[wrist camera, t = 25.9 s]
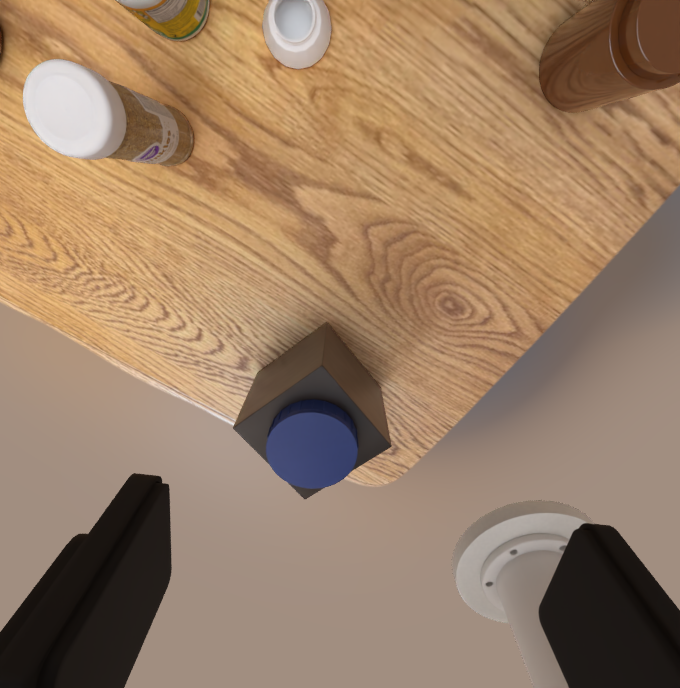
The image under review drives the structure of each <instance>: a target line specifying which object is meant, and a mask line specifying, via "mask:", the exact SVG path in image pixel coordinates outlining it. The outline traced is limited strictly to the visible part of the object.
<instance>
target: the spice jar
mask: <svg viewBox="0 0 680 688" xmlns="http://www.w3.org/2000/svg"><path fill="white" fill-rule="evenodd" d="M23 104H24V109H25V113H26V116H27V119H28V121H29V123H30V125H31V127H32V128H33V130H34V132H35V133H36V134H37V136H38V137H39V138H40V139H41V140H42V141H43V142H44V143H45V144H46V145H47V146H49V147H50V148H52V149H53V150H55V151H57V152H58V153H61V154H63V155H66V156H69V157H74V158H80V159H91V160H96V159H102V158H113V159H122V160H128V161H132V162H140V163H149V164H156V163H158V164H160V165H163V166H175V165H178V164H181V163H183V162H184V161H185V160H187V159H188V157H189V155H190V154H191V152H192V148H193V142H194V139H193V132H192V129H191V126H190V124H189V122H188V120H187V119H186V117H185V116H184V115H183V114H182V113H180V112H179V111H178V110H177V109H175V108H173V107H171V106H168V105H163V104H161V103H160V102H158V101H156V100H153V99H151V98H149V97H147V96H144V95H142V94H140V93H137V92H135V91H133V90H130V89H128V88H126V87H124V86H121V85H119V84H115V83H112V82H110V81H108V80H106V79H105V78H104V77H103V76H102V75H100V74H99V73H97V72H95V71H93V70H91V69H89V68H87V67H84V66H82V65H80V64H77V63H74V62H71V61H68V60H62V59H52V60H47V61H45V62H42V63H40V64H39V65H37V66H36V67H35V68H34V69H33V70H32V71H31V72H30V74H29V75H28V77H27V79H26V82H25V84H24V89H23Z"/></svg>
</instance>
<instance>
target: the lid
mask: <svg viewBox="0 0 680 688" xmlns="http://www.w3.org/2000/svg"><path fill="white" fill-rule="evenodd" d="M267 438H268V439H267V443H266V455H267V459H268V462H269V464H270V466H271V467H272V469H273V470H274V472H275V473H276V474H277V475H278V476H279V477H281V478H282V479H283V480H285V481H287V482H288V483H290V484H292V485H295V486H298V487H302V488H310V489H316V488H324V487H328V486H331V485H334V484H336V483H337V482H339V481H341V480H342V479H344V478H345V477H346V476H347V475H348V474H349V473H350V472H351V470H352V469H353V467H354V465H355V463H356V460H357V454H358V449H359V448H358V439H357V429H356V428H355V426H354V423H353V420H351V418H350V417H349V416H348V415H347V414H346V412H344V411H343V410H342V409H341V408H339V407H337V405H334V404H331V403H329V402H326V401H321V400H314V399H312V400H304V401H302V400H300V401H299V402H296V403H293V404H289V406H287V407H286V408H284V409H283V410H281V411H280V413H279V414H278V415H277V416H276V418H274V419H273V422H272V426H271V427H270V429H269V432H268V435H267Z"/></svg>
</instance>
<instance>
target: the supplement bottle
mask: <svg viewBox="0 0 680 688" xmlns="http://www.w3.org/2000/svg"><path fill="white" fill-rule="evenodd" d="M115 1H117V2H118V3H119V4H120V5H122V6H123V7H124V8H125V9H127V10H128V11H129V12H130V13H132V14H133V15H134V16H136V17H137V18H138V19H139V20H140V21H142V22H143V23H144V24H146V25H147V26H148V27H149V28H151V29H152V30H153V31H155V32H156V33H157V34H159V35H161V36H163V37H165V38H167V39H170V40H173V41H185V40H188V39H190V38H192V37H194V36H195V35H196V34H198V33H199V32H200V31H201V29H202V28H203V26H204V24H205V22H206V20H207V17H208V13H209V4H210V2H209V0H115Z"/></svg>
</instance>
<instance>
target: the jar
mask: <svg viewBox="0 0 680 688" xmlns="http://www.w3.org/2000/svg"><path fill="white" fill-rule="evenodd" d="M539 78H540V84H541V88H542V91H543V93H544V95H545V97H546V98H547V100H548V101H549V102H550V103H551V104H552V105H553V106H554V107H556V108H558V109H559V110H562V111H565V112H570V113H578V112H584V111H588V110H591V109H594V108H598V107H601V106H605V105H608V104H612V103H615V102H619V101H622V100H626V99H629V98H633V97H636V96H640V95H643V94H647V93H650V92H654V91H657V90H661V89H664V88H667V87H670V86H673V85H675V84H677V83H679V82H680V0H594V1H593V2H591V3H590V4H589V5H587V6H586V7H584V8H583V9H582V10H580V11H579V12H577V13H576V14H575V15H573V16H572V17H570V18H569V19H568V20H566V21H565V22H564V23H562V24H561V25H560V26H559V27H558V28H557V29H556V31H555V32H554V33H553V34H552V36H551V37H550V39H549V40H548V42H547V44H546V46H545V48H544V51H543V54H542V57H541V61H540V69H539Z"/></svg>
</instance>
